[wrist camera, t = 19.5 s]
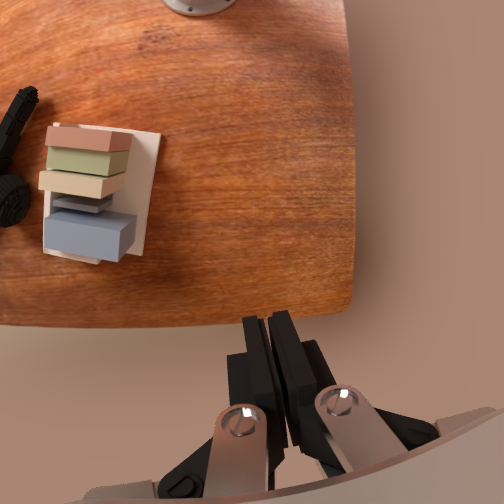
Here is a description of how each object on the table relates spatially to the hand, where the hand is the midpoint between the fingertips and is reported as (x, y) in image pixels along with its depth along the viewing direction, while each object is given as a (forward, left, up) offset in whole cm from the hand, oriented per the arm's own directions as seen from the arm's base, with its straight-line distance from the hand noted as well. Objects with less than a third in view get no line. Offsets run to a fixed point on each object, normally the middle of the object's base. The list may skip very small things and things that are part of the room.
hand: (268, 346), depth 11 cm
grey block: (+7, -18, -34) cm, 39 cm away
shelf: (+2, -18, -35) cm, 40 cm away
